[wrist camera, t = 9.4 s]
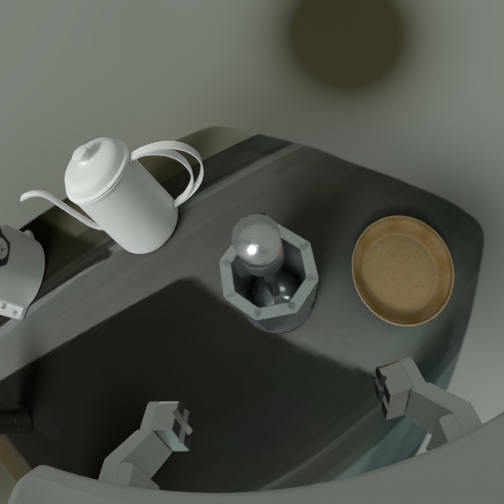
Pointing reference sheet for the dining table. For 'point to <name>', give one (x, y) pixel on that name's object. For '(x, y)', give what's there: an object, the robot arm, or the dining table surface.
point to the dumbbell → (264, 259)
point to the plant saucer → (402, 270)
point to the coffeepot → (123, 192)
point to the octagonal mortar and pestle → (294, 262)
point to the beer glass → (14, 419)
